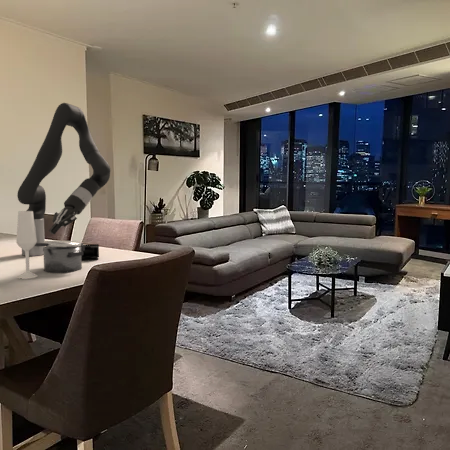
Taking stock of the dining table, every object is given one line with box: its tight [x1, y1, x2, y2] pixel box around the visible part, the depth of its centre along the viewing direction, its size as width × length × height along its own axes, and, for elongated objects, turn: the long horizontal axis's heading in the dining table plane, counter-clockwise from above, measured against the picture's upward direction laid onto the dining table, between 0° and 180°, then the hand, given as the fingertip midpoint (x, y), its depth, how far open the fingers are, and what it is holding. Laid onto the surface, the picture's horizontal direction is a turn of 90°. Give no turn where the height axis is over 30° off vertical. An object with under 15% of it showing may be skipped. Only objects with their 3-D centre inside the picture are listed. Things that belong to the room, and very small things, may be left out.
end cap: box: [81, 243, 100, 262], centre depth 182 cm, size 10×7×7 cm
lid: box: [35, 240, 85, 247], centre depth 159 cm, size 19×14×1 cm
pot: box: [43, 244, 86, 274], centre depth 161 cm, size 16×20×9 cm
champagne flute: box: [15, 210, 39, 280], centre depth 146 cm, size 7×7×24 cm
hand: (51, 232), depth 156 cm, fingers closed
